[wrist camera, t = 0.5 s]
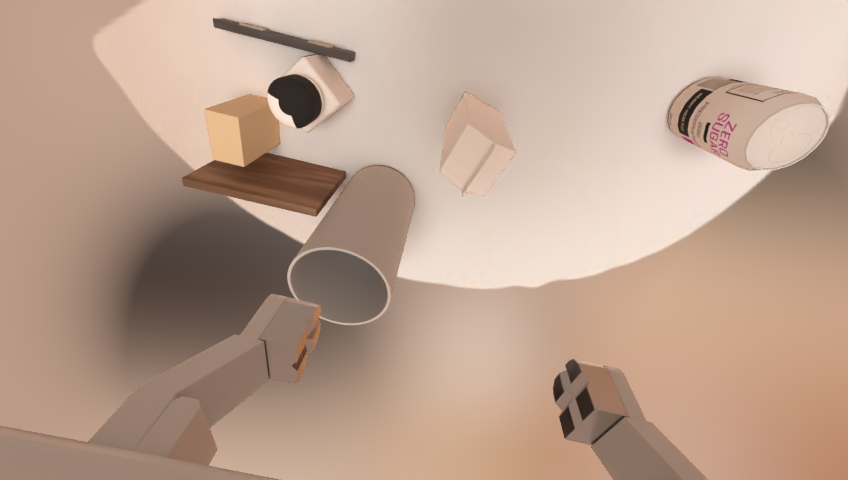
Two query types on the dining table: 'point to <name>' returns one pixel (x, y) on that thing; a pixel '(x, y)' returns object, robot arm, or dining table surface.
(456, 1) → the dining table surface
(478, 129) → the milk
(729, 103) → the supplement can
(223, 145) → the carton
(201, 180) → the brown flat boards
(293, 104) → the medicine bottle
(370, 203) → the cylinder vase
